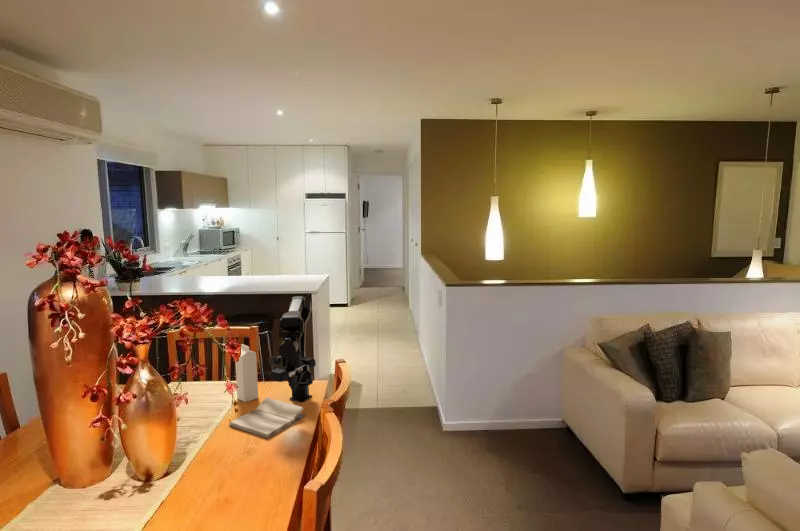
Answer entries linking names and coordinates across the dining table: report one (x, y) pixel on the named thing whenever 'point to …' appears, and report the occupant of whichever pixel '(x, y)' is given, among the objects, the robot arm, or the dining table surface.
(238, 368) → the milk
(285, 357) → the robot arm
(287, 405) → the loose plank
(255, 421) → the laid planks
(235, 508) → the dining table surface
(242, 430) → the underlay mat
